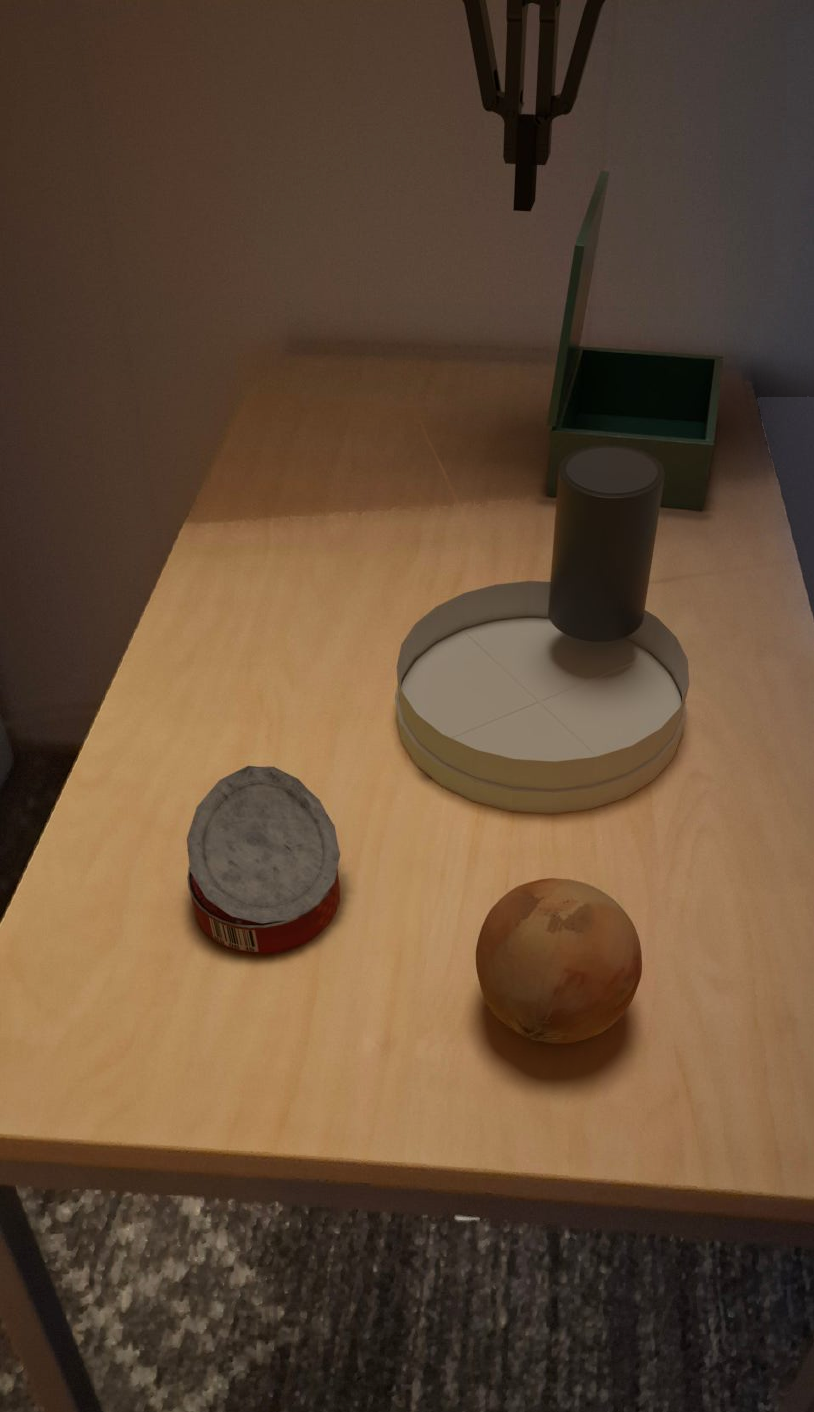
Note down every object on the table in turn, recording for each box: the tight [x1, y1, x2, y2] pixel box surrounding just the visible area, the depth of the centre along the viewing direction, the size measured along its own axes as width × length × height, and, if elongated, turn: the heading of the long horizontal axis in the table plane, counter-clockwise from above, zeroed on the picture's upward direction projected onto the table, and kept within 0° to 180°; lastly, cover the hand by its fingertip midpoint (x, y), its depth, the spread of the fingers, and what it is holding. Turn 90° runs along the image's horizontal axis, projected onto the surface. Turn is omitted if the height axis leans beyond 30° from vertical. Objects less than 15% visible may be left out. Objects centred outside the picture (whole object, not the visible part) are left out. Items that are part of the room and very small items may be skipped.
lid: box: [546, 170, 610, 427], centre depth 106 cm, size 15×18×1 cm
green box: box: [545, 345, 724, 512], centre depth 113 cm, size 15×18×7 cm
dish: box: [394, 580, 690, 815], centre depth 89 cm, size 22×22×5 cm
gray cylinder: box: [548, 445, 665, 642], centre depth 86 cm, size 7×7×12 cm
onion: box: [475, 877, 643, 1044], centre depth 68 cm, size 10×10×10 cm
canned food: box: [186, 765, 341, 955], centre depth 76 cm, size 11×10×10 cm
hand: (524, 205), depth 101 cm, fingers closed
